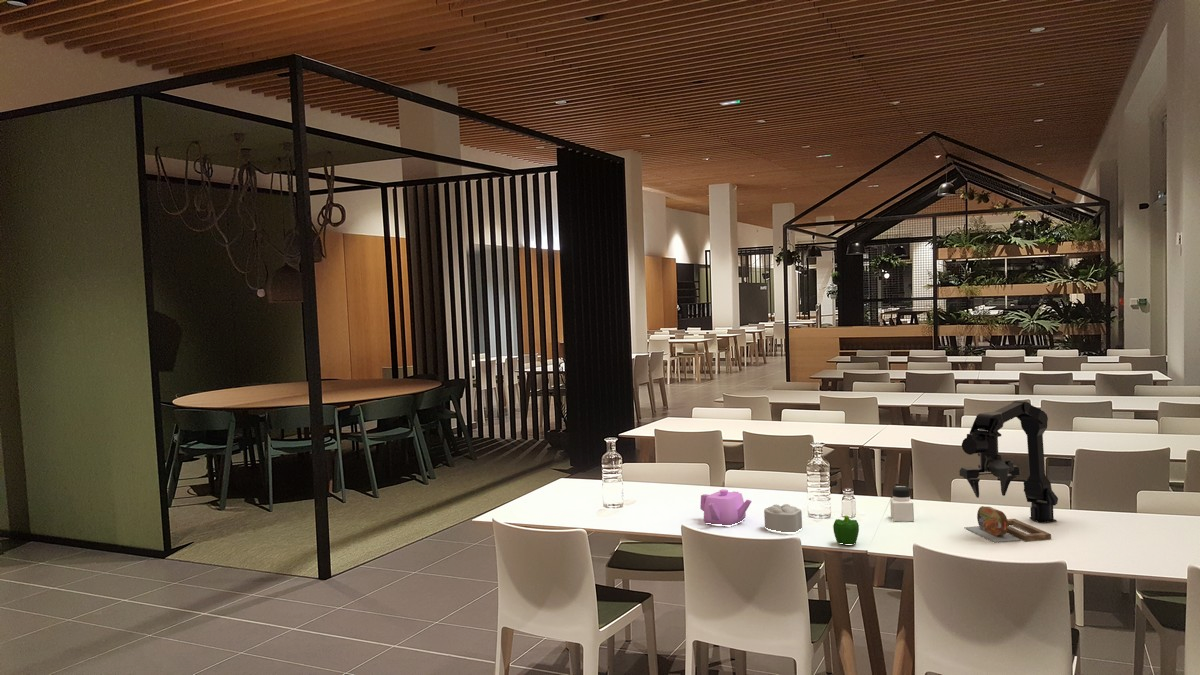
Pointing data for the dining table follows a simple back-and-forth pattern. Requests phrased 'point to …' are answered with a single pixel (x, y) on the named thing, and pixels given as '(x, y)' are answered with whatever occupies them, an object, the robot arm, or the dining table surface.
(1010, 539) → the grey mat
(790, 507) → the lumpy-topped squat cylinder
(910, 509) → the medicine bottle
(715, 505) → the teakettle
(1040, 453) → the robot arm
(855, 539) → the bell pepper
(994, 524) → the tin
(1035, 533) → the frame
